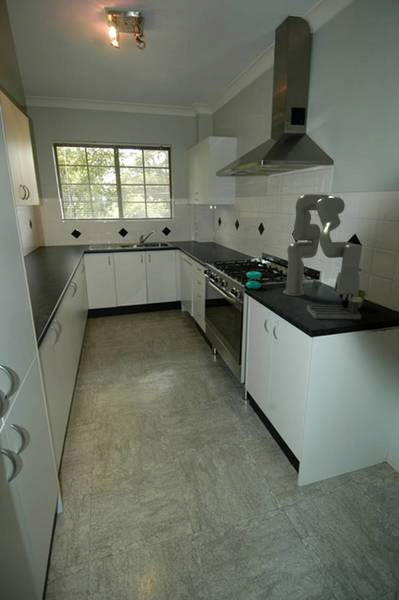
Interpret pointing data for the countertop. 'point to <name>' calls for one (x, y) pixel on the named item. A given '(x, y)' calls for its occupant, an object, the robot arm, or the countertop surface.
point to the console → (332, 312)
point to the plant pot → (360, 294)
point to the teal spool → (253, 283)
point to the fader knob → (355, 304)
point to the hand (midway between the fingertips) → (344, 307)
